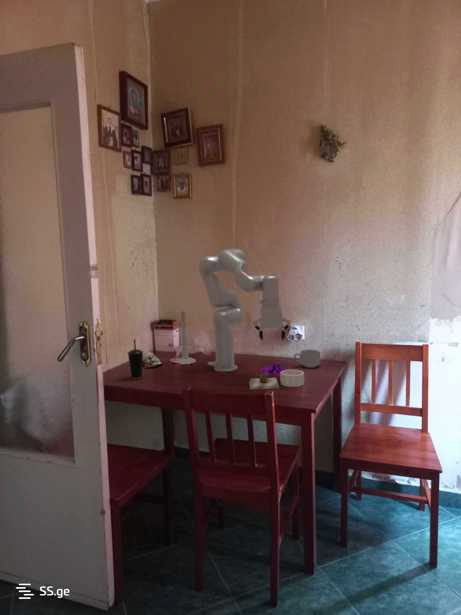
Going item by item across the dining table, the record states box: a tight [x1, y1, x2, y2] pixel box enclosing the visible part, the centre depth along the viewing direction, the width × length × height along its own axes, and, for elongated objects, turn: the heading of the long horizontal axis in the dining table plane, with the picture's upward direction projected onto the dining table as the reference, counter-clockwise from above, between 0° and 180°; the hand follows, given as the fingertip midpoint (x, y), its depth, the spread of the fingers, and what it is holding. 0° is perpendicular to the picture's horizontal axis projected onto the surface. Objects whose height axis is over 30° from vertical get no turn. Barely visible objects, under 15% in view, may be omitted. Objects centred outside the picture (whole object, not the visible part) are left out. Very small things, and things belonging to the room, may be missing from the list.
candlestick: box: [176, 310, 197, 364], centre depth 258 cm, size 13×13×30 cm
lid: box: [249, 371, 279, 390], centre depth 211 cm, size 12×12×5 cm
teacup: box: [293, 348, 322, 369], centre depth 242 cm, size 14×11×8 cm
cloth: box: [259, 362, 293, 377], centre depth 231 cm, size 22×19×6 cm
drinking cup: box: [127, 339, 144, 379], centre depth 231 cm, size 8×8×20 cm
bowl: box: [279, 369, 305, 388], centre depth 211 cm, size 10×10×6 cm
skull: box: [142, 351, 162, 366], centre depth 256 cm, size 12×10×10 cm
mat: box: [248, 379, 280, 390], centre depth 212 cm, size 13×13×1 cm
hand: (272, 339), depth 214 cm, fingers open, 9 cm apart
